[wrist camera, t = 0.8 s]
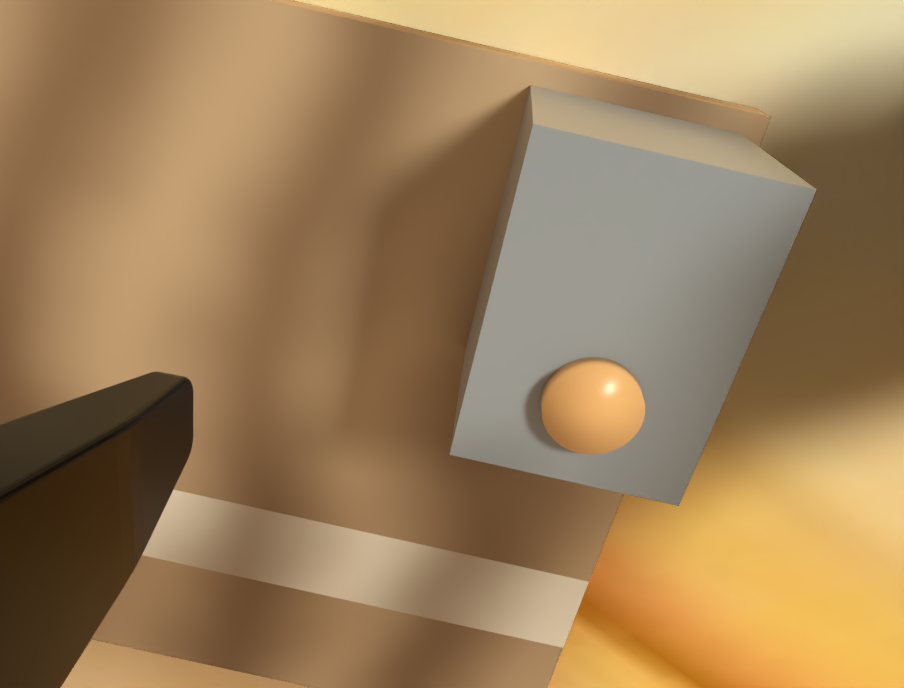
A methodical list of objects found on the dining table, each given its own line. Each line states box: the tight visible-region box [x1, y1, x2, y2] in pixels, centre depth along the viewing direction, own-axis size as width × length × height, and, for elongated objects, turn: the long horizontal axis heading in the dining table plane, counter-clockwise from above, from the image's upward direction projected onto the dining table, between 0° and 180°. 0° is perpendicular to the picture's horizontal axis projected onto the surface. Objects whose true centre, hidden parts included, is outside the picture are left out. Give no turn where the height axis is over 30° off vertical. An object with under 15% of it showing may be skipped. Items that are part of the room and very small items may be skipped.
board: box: [0, 0, 771, 688], centre depth 22 cm, size 20×22×1 cm
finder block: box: [450, 85, 817, 506], centre depth 17 cm, size 5×7×5 cm
